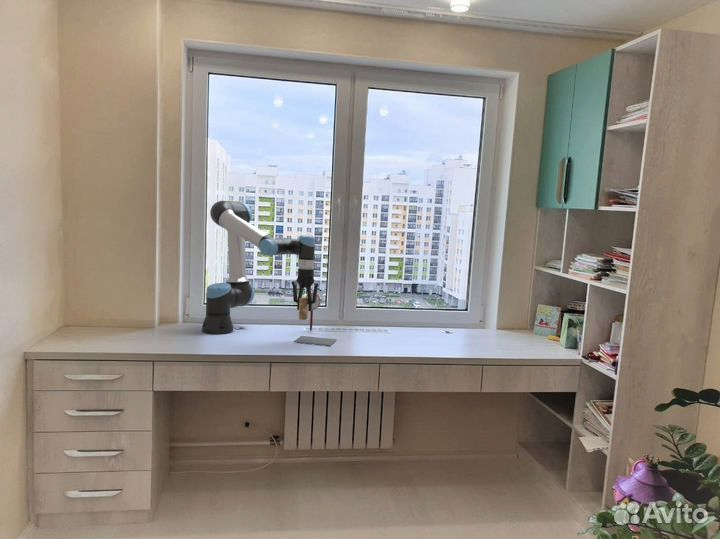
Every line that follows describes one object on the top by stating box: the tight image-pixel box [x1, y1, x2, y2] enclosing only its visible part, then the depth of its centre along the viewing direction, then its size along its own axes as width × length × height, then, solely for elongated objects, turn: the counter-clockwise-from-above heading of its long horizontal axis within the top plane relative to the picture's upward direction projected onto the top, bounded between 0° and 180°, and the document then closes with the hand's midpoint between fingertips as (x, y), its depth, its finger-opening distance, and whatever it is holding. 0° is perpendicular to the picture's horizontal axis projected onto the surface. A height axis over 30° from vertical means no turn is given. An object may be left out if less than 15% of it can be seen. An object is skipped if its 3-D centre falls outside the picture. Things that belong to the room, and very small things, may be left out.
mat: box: [293, 335, 338, 347], centre depth 249 cm, size 18×12×1 cm, turn 79°
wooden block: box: [298, 296, 308, 321], centre depth 248 cm, size 3×7×10 cm, turn 169°
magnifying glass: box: [306, 292, 322, 332], centre depth 268 cm, size 9×2×20 cm, turn 99°
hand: (304, 317), depth 248 cm, fingers closed on wooden block, 3 cm apart
